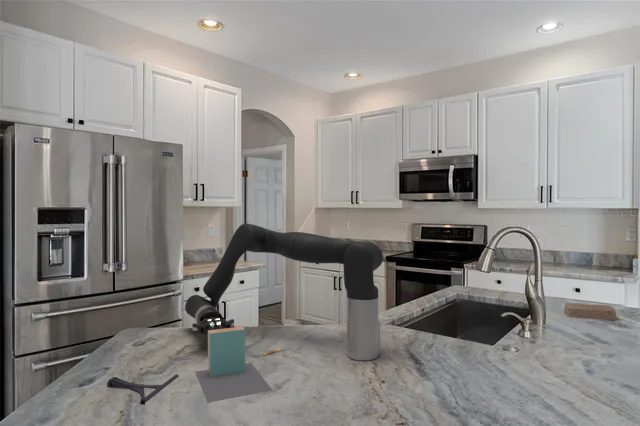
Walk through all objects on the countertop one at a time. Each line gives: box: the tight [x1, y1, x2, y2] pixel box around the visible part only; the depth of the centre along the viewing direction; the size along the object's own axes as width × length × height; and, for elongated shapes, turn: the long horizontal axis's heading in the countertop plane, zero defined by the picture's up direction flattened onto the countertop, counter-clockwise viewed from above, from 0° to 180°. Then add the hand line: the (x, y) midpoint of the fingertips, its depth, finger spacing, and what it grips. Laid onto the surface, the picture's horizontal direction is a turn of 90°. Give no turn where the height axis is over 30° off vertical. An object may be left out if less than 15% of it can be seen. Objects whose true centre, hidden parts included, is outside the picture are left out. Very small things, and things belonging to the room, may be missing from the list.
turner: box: [261, 347, 284, 357], centre depth 123 cm, size 13×3×1 cm, turn 134°
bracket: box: [106, 373, 180, 405], centre depth 102 cm, size 14×15×3 cm
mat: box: [195, 362, 273, 403], centre depth 105 cm, size 15×19×1 cm
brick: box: [563, 302, 617, 321], centre depth 168 cm, size 17×8×5 cm, turn 69°
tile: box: [207, 326, 246, 377], centre depth 110 cm, size 9×3×11 cm, turn 114°
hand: (219, 333), depth 119 cm, fingers closed
